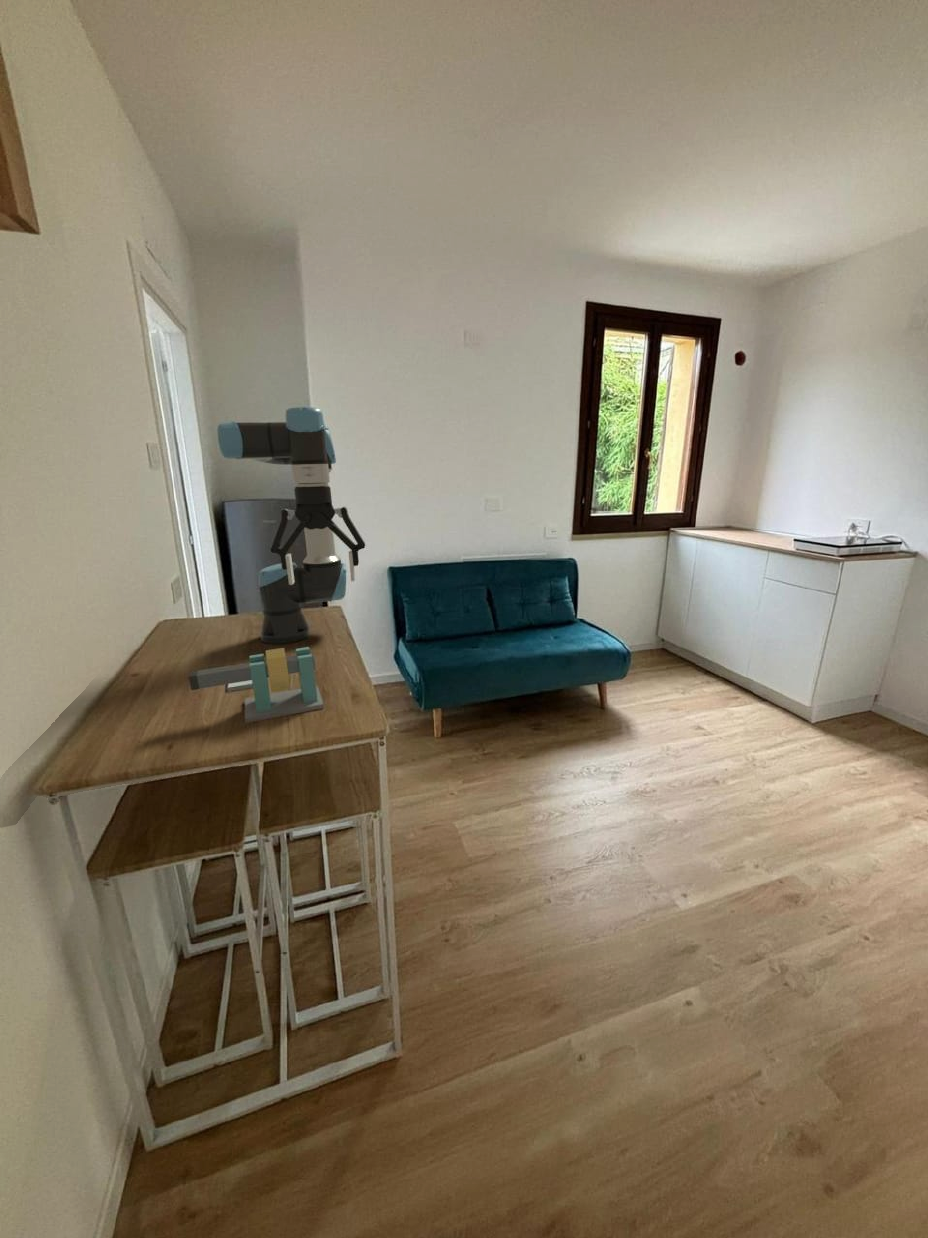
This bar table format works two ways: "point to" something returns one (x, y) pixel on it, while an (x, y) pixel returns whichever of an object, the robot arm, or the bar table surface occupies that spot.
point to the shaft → (234, 673)
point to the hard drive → (240, 685)
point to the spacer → (277, 669)
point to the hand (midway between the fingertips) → (322, 581)
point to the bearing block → (285, 701)
